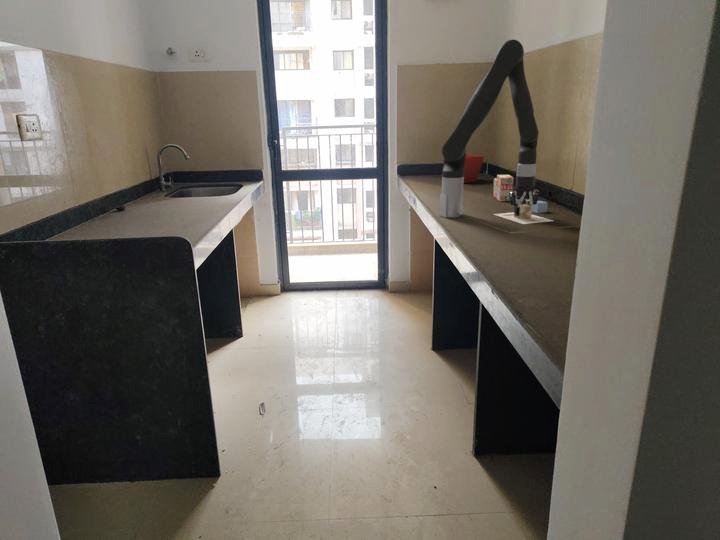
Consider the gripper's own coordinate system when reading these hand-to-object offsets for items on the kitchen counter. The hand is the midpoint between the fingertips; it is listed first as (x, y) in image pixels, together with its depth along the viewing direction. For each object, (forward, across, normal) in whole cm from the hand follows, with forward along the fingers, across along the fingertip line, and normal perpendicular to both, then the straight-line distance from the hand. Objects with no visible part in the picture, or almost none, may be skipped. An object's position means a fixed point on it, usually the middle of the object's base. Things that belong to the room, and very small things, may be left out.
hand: (522, 215), depth 206 cm
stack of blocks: (+2, +22, +48) cm, 53 cm away
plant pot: (+2, +35, +114) cm, 119 cm away
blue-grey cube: (+2, +14, +8) cm, 16 cm away
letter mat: (+2, 0, 0) cm, 2 cm away
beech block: (+1, 0, 0) cm, 1 cm away
